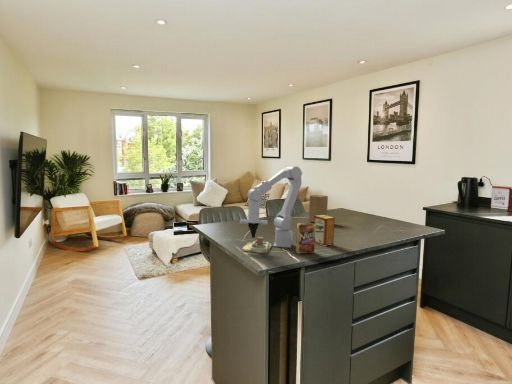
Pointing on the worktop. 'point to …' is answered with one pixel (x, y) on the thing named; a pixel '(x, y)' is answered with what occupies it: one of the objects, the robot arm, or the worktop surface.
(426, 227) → the worktop surface
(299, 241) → the candy box
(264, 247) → the keyhole panel
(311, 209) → the wooden block
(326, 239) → the baking soda box
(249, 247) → the stud board
